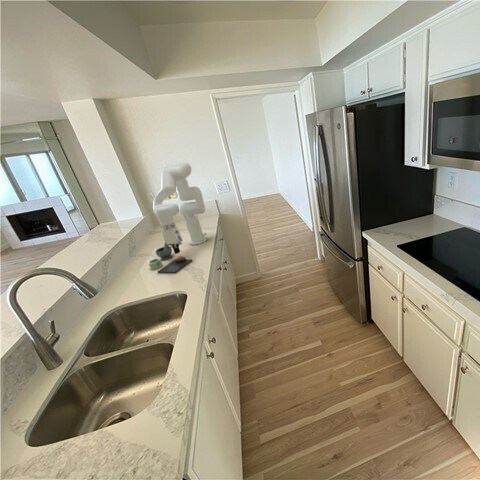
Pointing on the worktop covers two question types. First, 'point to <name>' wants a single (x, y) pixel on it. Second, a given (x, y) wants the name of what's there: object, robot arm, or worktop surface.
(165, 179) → the robot arm
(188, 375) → the worktop surface
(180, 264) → the scale
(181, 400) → the worktop surface
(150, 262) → the bowl
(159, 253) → the mortar and pestle
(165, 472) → the worktop surface
